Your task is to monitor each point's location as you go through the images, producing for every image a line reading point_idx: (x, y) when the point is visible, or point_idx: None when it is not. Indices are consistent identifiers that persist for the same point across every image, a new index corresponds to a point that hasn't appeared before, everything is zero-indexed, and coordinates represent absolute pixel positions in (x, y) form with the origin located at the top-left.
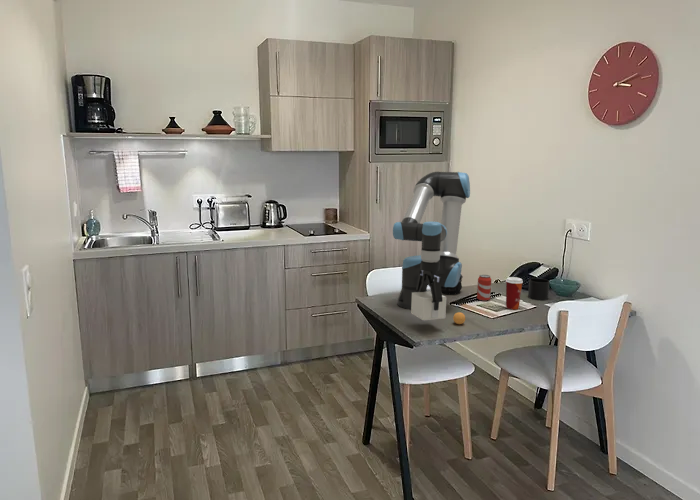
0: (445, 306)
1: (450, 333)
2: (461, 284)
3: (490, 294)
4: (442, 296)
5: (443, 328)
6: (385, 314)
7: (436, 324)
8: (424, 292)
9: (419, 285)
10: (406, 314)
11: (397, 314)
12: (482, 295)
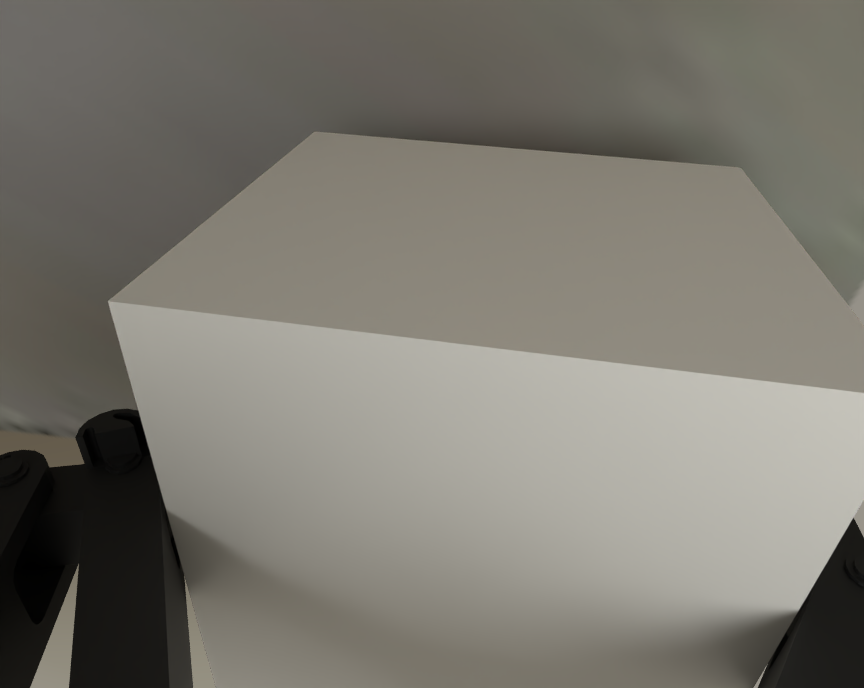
0: (805, 268)
1: (830, 102)
2: None
3: None
4: (782, 456)
5: (616, 71)
6: (19, 377)
7: (436, 67)
8: (243, 558)
9: (14, 685)
10: (12, 201)
11: (16, 285)
12: None
